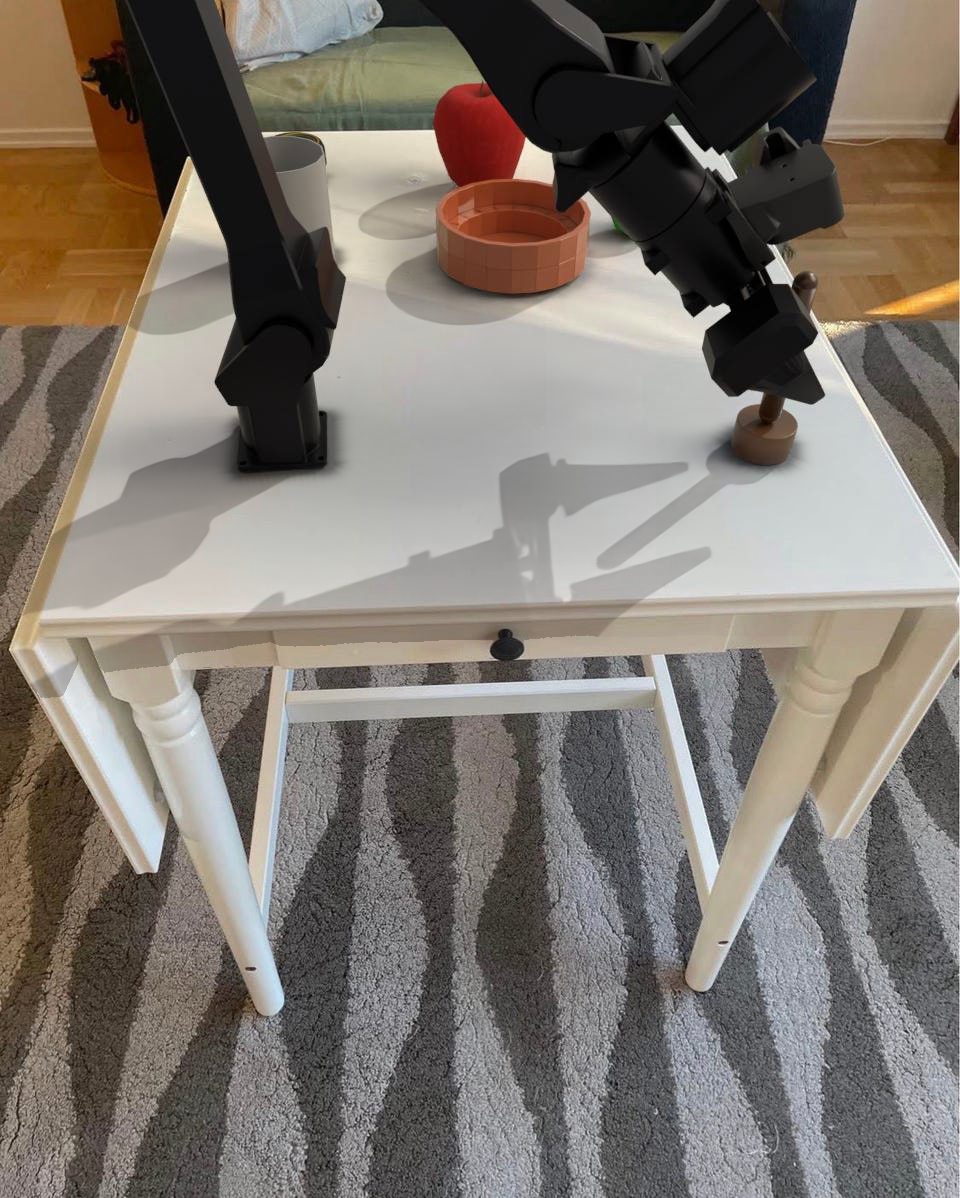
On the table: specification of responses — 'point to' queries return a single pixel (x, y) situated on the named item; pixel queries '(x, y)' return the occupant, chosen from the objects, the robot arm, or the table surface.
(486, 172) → the apple
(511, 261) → the bowl
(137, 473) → the table surface
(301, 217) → the cup
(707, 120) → the robot arm
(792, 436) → the brown joystick
